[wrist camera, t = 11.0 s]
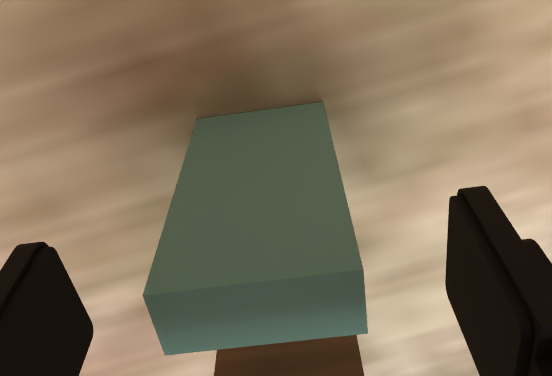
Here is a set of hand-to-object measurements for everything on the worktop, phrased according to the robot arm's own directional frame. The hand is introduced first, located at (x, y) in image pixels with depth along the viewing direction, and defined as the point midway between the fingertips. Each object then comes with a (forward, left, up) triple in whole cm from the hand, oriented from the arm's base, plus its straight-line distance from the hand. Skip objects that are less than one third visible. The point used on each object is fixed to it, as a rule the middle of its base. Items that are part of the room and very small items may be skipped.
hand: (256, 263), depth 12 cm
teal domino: (+1, 0, -9) cm, 9 cm away
